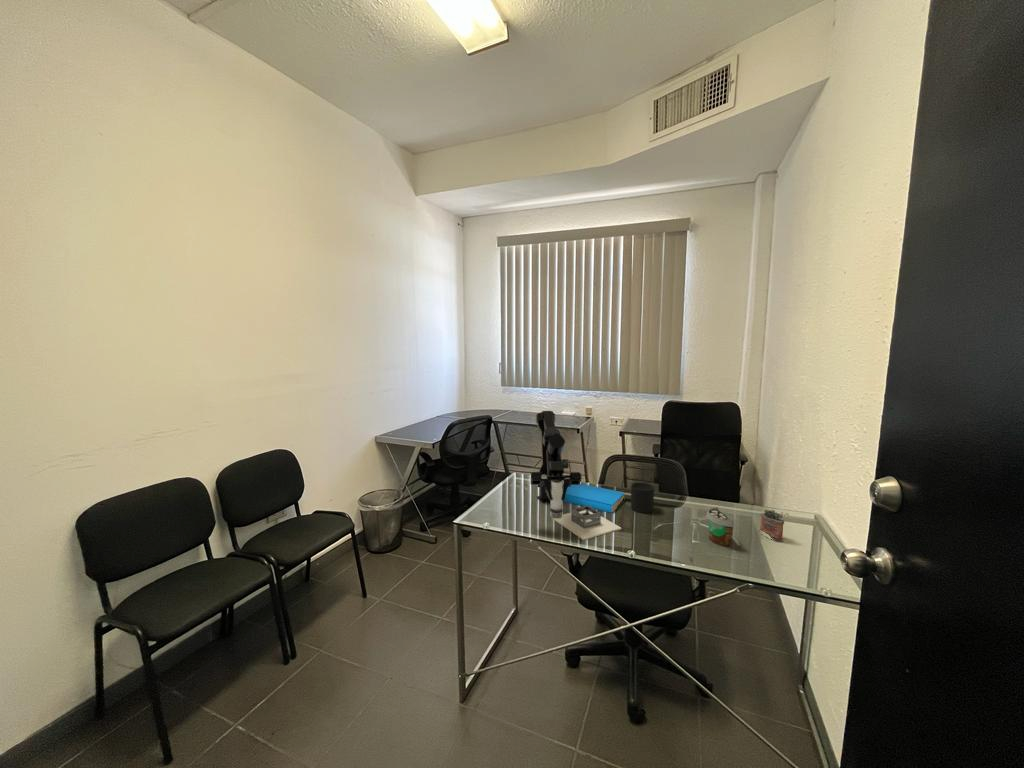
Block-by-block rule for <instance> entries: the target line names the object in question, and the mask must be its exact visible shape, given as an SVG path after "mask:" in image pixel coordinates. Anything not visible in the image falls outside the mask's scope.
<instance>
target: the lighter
mask: <svg viewBox="0 0 1024 768" xmlns="http://www.w3.org/2000/svg"><path fill="white" fill-rule="evenodd" d="M784 525H785V521H784V519H783V514H781V513H780V512H776V511H775V510H774V509H768V508H764V512H762V513H760V525H759V531H760V530H761V531H763V532H765V533H766V534H768V535H769V536H770V537H771V538H772V539H773V540H772V541H774V542H776V543H783V541H784V539H783V536H784V534H783V533H784Z"/></svg>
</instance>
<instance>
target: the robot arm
mask: <svg viewBox="0 0 1024 768" xmlns="http://www.w3.org/2000/svg"><path fill="white" fill-rule="evenodd" d="M555 422H556V413H554V411H552V410H542V411H541V412H538V413H536V415H535V423H536V424H537V425H536V426H537V429H538V430H539V432H540V439H541V440H540V441H541V466H540V467H539V470H538V471H532V472H530V485H533V486H537V488H539V495H538V496H536V498H537V499H538V500H540V501H542V503H549V502H551V481H552V480H561V481H563V502H565V501H564V499H565V495H566V491H567V488H568V487H570V486H571V485H579V484H580V483H581V482H582V473H581V472H580V471H570V472H569V475H568V474H567V475H564V474H565V469H569V467H570V464H569V459H566V458H564V459H562V453H563V451H564V445H565V443H566V440H565V438H564V436H563V435H562V434H561V432H560V430H559V429H557V428H556V425H555Z"/></svg>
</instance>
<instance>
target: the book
mask: <svg viewBox="0 0 1024 768" xmlns="http://www.w3.org/2000/svg"><path fill="white" fill-rule="evenodd" d="M623 498H624V499H625V492H624V491H623V492H622V491H618V490H613V489H609V488H604V487H599V486H595V485H594V486H593V485H590V484H585V483H581V484H579V485H571V486H570V487H568V488H567V491H566V495H565V499H564V501H563V502H565V503H568V504H569V503H570V504H573V505H574V504H575V505H577V506H580V507H583V506H587V505H588V506H590V507H591V508H593V509H595V510H597V511H603V512H606V513H610V514H613V513H614V512H615V510H617V509H618V507H619V506H620V505H621V504H620V502H621V501H622V500H623ZM619 504H620V505H619ZM618 505H619V506H618ZM617 506H618V507H617Z"/></svg>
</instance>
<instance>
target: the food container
mask: <svg viewBox="0 0 1024 768" xmlns="http://www.w3.org/2000/svg"><path fill="white" fill-rule="evenodd" d="M705 516H706V518H707V521H708V527H707V528H708V539H709V541H710V542H711V543H713V544H716V545H718V546H722V547H726V548H731V547H732V539H733V534H734V533H733V531H734V528H735V520H731V519H729V518H728V516H727V515H726V514H724V513H723V512H721V511H720V509H719V507H717V506H715V507H710V508H709V509H708V510H707V513H706V515H705Z"/></svg>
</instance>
